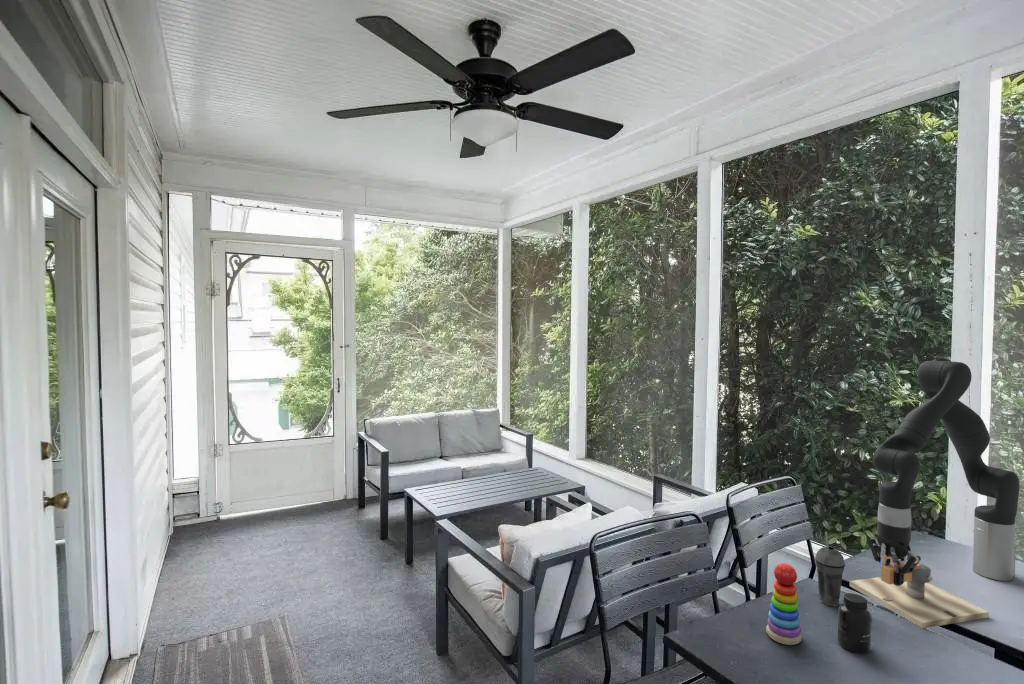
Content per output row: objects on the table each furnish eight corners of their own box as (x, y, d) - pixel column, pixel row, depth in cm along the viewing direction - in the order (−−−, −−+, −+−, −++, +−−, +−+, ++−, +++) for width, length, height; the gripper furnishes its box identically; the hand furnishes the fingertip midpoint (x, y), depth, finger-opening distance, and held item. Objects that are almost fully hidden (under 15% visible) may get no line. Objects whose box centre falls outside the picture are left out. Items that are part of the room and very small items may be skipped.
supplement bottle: (871, 658, 123) (872, 608, 122) (837, 648, 126) (838, 600, 126) (870, 643, 129) (871, 595, 128) (837, 634, 132) (838, 587, 132)
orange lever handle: (909, 568, 152) (910, 555, 152) (940, 582, 144) (940, 568, 144) (871, 575, 148) (871, 561, 148) (899, 589, 140) (900, 575, 140)
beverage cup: (850, 609, 143) (851, 537, 143) (823, 609, 144) (824, 537, 143) (834, 595, 151) (835, 526, 150) (808, 595, 151) (810, 526, 150)
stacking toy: (758, 631, 133) (759, 559, 133) (781, 624, 136) (783, 554, 136) (785, 649, 126) (786, 573, 125) (809, 642, 129) (810, 567, 128)
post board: (909, 577, 161) (910, 556, 160) (988, 617, 139) (989, 593, 139) (849, 585, 156) (850, 564, 156) (922, 628, 134) (922, 603, 134)
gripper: (930, 529, 139) (928, 592, 139) (879, 510, 152) (878, 568, 153) (909, 532, 136) (907, 597, 137) (860, 513, 150) (858, 572, 151)
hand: (892, 581), depth 145 cm, fingers closed on orange lever handle, 2 cm apart
